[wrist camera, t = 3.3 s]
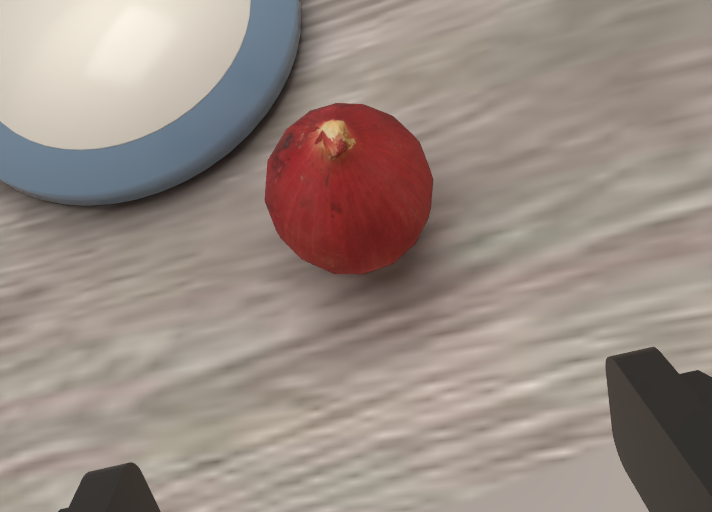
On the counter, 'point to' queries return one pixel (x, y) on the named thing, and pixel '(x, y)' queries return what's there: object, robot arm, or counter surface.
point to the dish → (134, 90)
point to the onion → (348, 188)
